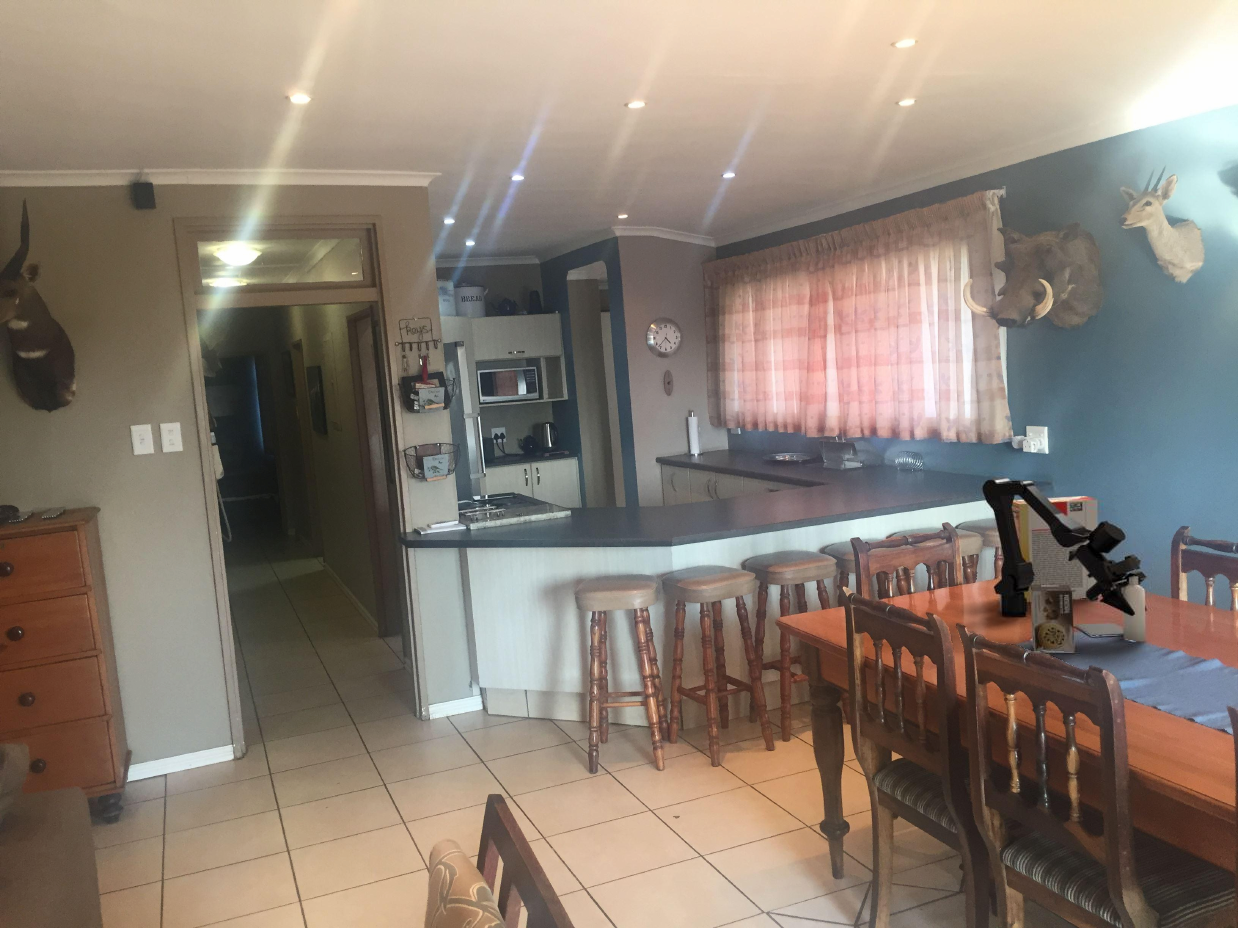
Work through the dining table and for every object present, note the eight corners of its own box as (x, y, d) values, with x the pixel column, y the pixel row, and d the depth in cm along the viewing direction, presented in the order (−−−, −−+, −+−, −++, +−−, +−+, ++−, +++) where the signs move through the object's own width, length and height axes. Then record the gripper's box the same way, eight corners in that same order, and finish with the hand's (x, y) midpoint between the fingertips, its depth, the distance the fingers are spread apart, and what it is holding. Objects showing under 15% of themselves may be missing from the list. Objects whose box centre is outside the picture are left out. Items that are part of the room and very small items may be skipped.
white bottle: (1119, 639, 230) (1118, 577, 228) (1130, 635, 232) (1129, 574, 231) (1138, 643, 226) (1137, 579, 224) (1149, 639, 228) (1148, 576, 227)
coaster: (1091, 637, 233) (1091, 634, 233) (1075, 626, 243) (1075, 624, 243) (1131, 635, 232) (1131, 633, 232) (1113, 625, 242) (1113, 622, 242)
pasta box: (1086, 591, 278) (1084, 496, 276) (1099, 598, 270) (1097, 499, 268) (1011, 596, 279) (1008, 500, 277) (1021, 602, 271) (1019, 504, 269)
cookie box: (1071, 646, 226) (1069, 584, 225) (1075, 654, 220) (1073, 590, 219) (1031, 645, 229) (1029, 583, 228) (1034, 653, 223) (1032, 589, 222)
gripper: (1095, 550, 226) (1140, 601, 217) (1138, 540, 235) (1183, 588, 226) (1067, 576, 233) (1109, 626, 224) (1109, 565, 242) (1151, 613, 234)
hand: (1139, 613), depth 227 cm, fingers closed on white bottle, 5 cm apart
